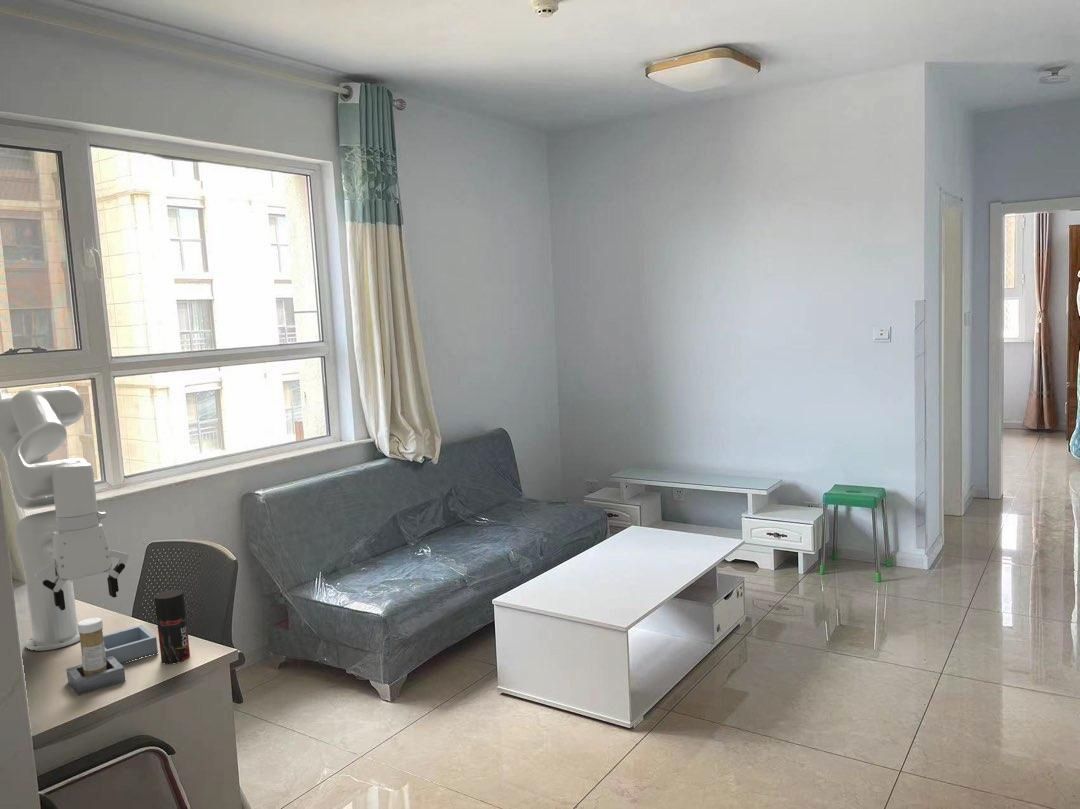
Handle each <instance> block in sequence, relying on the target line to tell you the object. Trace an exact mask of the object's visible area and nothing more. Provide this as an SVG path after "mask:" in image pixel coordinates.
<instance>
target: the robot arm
mask: <svg viewBox="0 0 1080 809" xmlns="http://www.w3.org/2000/svg"><path fill="white" fill-rule="evenodd" d="M83 414H84V401H83V399H82V396H81V394H80V393H79V392H78V391H77V390H76V389H75V388H73V387H71V386H56V387H45V388H32V389H26V390H23V391H20V392H18V393H16V394H15V395H13V397H10V398H9V397H7V398H3V399H0V450H1V452H2V455H3V456H4V458H5V462H6V464H7V469H8V474H9V479H10V485H11V488H12V494H13V496H14V499H15V503H16V505H17V506H18V507H19V508H20V509H22V510H26V511H28V510H38V509H40V510H41V509H44V508H45V509H46V508H51V507H54V510H50V511H42V512H37V513H32V514H30V515H27V516H25V517H23V518H21V519H19V520H18V521H17V523H16V525H15V526H14V536H15V542H16V544H17V548H18V550H19V554H20V557H21V561H22V566H23V573H24V579H25V580H24V581H25V586H26V588H25V589H26V595H27V604H28V611H29V619H30V628H31V633H32V636H31V637H29V638H28V639H27V640H26V641H25V648H26V649H27V648H28V649H27V650H29V649H30V651H33V650H35V651H36V652H37V651H38V652H39V651H41V652H42V651H51V650H56V649H60V648H65V647H67V646H71V645H73V644H75V643H78V642H80V635H79V632H78V623H79V622H78V617H77V616H78V615H77V608H76V600H75V599H76V598H75V591H74V582H73V580H77V579H81V578H85V577H89V576H95V575H98V574H102V573H107V574H108V576H107V578H106V579H107V580H106V581H107V587H108V595H109V596H110V597H111V598H117V596H118V595H117V593H118V592H119V590H120V589H119V582H118V580H119V579H118V578H119V577H120V574H122V572H123V571H124V569H125V568H126V564H127V562H128V560H129V557H130V555H129V554H128V553H125V552H122V551H118V550H115V549H114V550H113V549H110V546H109V541H108V536H107V533H106V531H105V528H104V525H103V524H102V523H101V521H102V520H103V519H106V518H107V514H106V512H105V511H103V512H102V511H99V510H98V500H97V494H96V486H95V479H94V478H95V475H94V474H95V473H94V468H93V466H92V464H91V463H90V462H89V461H88V460H87V459H86V458H82V457H72V458H65V459H55V460H49V458H48V457H49V456H48V455H49V454H52V453H53V452H56V450H58V449H60V448H61V447H62V446H63V445H64V444H65V442H66V440H67V430H66V427H69V426H72V425H74V424H76V423H77V422H79V421H80V420H81V418H82V417H83ZM112 558H117V559H119V560H118V563H117V564H116V565H115V567H114V568H112V566H113V562H112V561H113V560H112Z"/></svg>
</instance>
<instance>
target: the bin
mask: <svg viewBox="0 0 1080 809" xmlns="http://www.w3.org/2000/svg"><path fill="white" fill-rule="evenodd" d="M103 640H104V646H105V655H106V657H109V656H113V657H114V658H115V659H116V660H117V661H118V662H119V663H120V664H122V665H125V664H124V663H126V662H129V661H132V660H135V659H139V658H141V657H145V656H149V655H153V654H156V655H158V654H159V650H158V641H157V640H158V639H157V636H156V635H154V634H153V633H152V632H151V631H150V630H149V629H147V628H146V627H145V626H144V625H143V624H139V625H137V626H133V627H129V628H126V629H122V630H118V631H115V632H110V633H107V634H103ZM157 653H158V654H157ZM153 656H154V655H153ZM149 657H150V656H149ZM139 660H140V659H139ZM132 662H133V661H132ZM129 663H130V662H129ZM126 664H127V663H126Z"/></svg>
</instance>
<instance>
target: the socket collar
mask: <svg viewBox="0 0 1080 809" xmlns="http://www.w3.org/2000/svg"><path fill="white" fill-rule="evenodd" d="M106 663H107V664H106V668H107V670H105V671H102V672H98V673H95V674H92V675H88V676H85V677H84V670H83V663H82V664H79V665H75V666H71V667H68V668H66V669H65V670H66V677H67V683H68V684H69V686H70V687H71V689H72V690H73V691H74V693H76V695H77V696H79V697H80V696H82V695H85V694H88V692H89V693H92V692H94V691H98V690H101V689H104V688H107V687H111V686H114V685H117V684H120V683H123V682H126V672H125V667H124V666H123V664H122V665H121V664H120V663H119V662H118V661H117V660H116V659H115V658H114V657H113V656H109V657H106Z"/></svg>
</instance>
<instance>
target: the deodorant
mask: <svg viewBox="0 0 1080 809" xmlns="http://www.w3.org/2000/svg"><path fill="white" fill-rule="evenodd" d="M154 604H155V606H154V607H155V614H156V624H157V633H158V641H159V652H160V659H161V660H160V661H161V663H162V664H163V663H165V664H164V665H174V664H173V663H176V664H179V663H178V662H180V663H182V661H183V662H185V661H187V660H189V658H190V657H191V653H190V643H189V632H188V624H187V623H188V622H187V614H186V613H187V612H186V605H185V604H186V603H185V594H184V590H182V589H170V590H165V591H164V590H163V591H161V592H158V593H156V594H154ZM186 659H187V660H186ZM184 660H185V661H184Z"/></svg>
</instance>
